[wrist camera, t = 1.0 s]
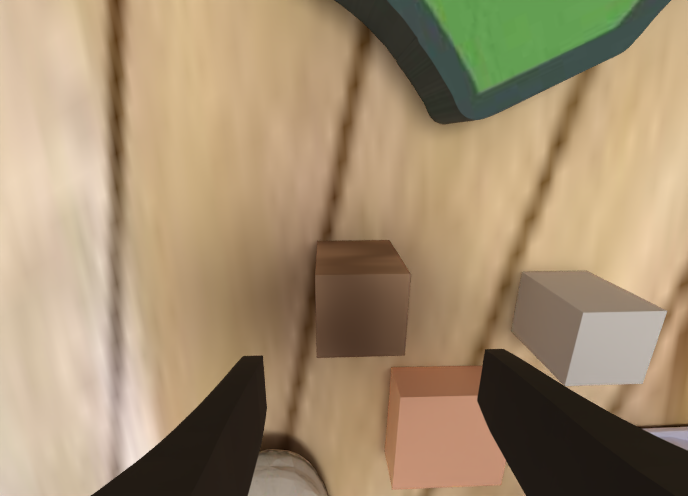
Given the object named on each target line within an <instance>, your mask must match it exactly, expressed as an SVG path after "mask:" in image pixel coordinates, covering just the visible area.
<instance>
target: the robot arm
mask: <svg viewBox="0 0 688 496" xmlns="http://www.w3.org/2000/svg"><path fill="white" fill-rule="evenodd" d="M477 402H478V404H479V407H480V409H481V412H482V414H483V417H484V419H485V421H486V424H487V426H488V428H489V431H490V433H491V434H492V436H493V438H494V440H495V442H496V443H497V445H498V447H499V449H500V451H501V452H502V454H503V456H504V458H505V459H506V461H507V463H508V465H509V466H510V468H511V470H512V472H513V473H514V475H515V477H516V479H517V480H518V482H519V484H520V486H521V487H522V489H523V491H524V493H525V494H526V496H688V427H668V428H644V429H641V428H639V427H637V426H635V425H633V424H631V423H629V422H627V421H625V420H623V419H621V418H619V417H617V416H616V415H614V414H612V413H610V412H608V411H606V410H605V409H603V408H601V407H599V406H598V405H596V404H594V403H592V402H590V401H589V400H587V399H585V398H584V397H582V396H580V395H578V394H577V393H575V392H573V391H572V390H570V389H568V388H567V387H565V386H563V385H562V384H560V383H559V382H557V381H555V380H554V379H552V378H551V377H549V376H547V375H546V374H544V373H543V372H541V371H539V370H538V369H536V368H535V367H533V366H531V365H530V364H528V363H527V362H525V361H523V360H522V359H520V358H518V357H517V356H515V355H513V354H512V353H510V352H508V351H506V350H504V349H485V354H484V360H483V366H482V372H481V379H480V385H479V391H478V397H477ZM266 411H267V404H266V391H265V378H264V365H263V356H243V357H242V358H241V359H240V360H239V361H238V362H237V363H236V365H235V366H234V367H233V368H232V369H231V370H230V372H229V373H228V374H227V375H226V376H225V377H224V378H223V380H222V381H221V382H220V383H219V384H218V385H217V386H216V387H215V388H214V390H213V391H212V392H211V393H210V394H209V395H208V396H207V397H206V398H205V399H204V400H203V401H202V402H201V404H200V405H199V406H198V407H197V408H196V409H195V410H194V411H193V412H192V413H191V414H190V415H189V416H188V417H186V418H185V419H184V420H183V421H182V422H181V423H180V424H179V425H178V426H177V427H176V428H175V429H174V430H173V431H172V432H171V433H170V434H169V435H168V436H166V437H165V438H164V439H163V440H162V441H161V442H160V443H159V444H157V445H156V446H155V447H154V448H153V449H152V450H150V451H149V452H148V453H147V454H146V455H144V456H143V457H142V458H141V459H139V460H138V461H137V462H136V463H134V464H133V465H132V466H130V467H129V468H128V469H126V470H125V471H124V472H122V473H121V474H120V475H118V476H117V477H116V478H114V479H113V480H112V481H110V482H109V483H108V484H106V485H105V486H104V487H102V488H101V489H100V490H98V491H97V492H95V493H94V494H93V495H91V496H248V493H249V489H250V486H251V482H252V478H253V474H254V470H255V467H256V463H257V459H258V455H259V451H260V447H261V443H262V438H263V431H264V425H265V418H266Z"/></svg>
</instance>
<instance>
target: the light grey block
mask: <svg viewBox="0 0 688 496" xmlns="http://www.w3.org/2000/svg"><path fill="white" fill-rule="evenodd" d="M666 313H667V311H666V310H664V309H662V308H660V307H658V306H656V305H654V304H652V303H650V302H648V301H646V300H644V299H642V298H640V297H638V296H636V295H634V294H632V293H630V292H628V291H626V290H624V289H622V288H620V287H618V286H616V285H614V284H612V283H610V282H608V281H606V280H604V279H602V278H600V277H598V276H596V275H594V274H592V273H590V272H588V271H531V272H522V274H521V280H520V285H519V291H518V296H517V301H516V307H515V312H514V318H513V323H512V329H511V331H512V332H513V333H514V335H515V336H516V337H517V338H518V339H519V340H520V341H521V342H522V343H523V344H524V345H525V346H526V347H527V348H528V349H529V350H530V351H531V352H532V353H533V354H534V355H535V356H536V357H537V358H538V359H539V360H540V361H541V362H542V363H543V364H544V365H545V366H546V367H547V368H548V369H549V370H550V371H551V373H552V374H553V375H554V376H555V377H556V378H557V379H558V380H559V381H560V382H561V383H562V384H563V385H564V386H582V385H612V384H643V381H644V378H645V375H646V372H647V369H648V366H649V363H650V360H651V357H652V354H653V352H654V349H655V346H656V343H657V340H658V337H659V334H660V331H661V328H662V325H663V322H664V319H665V316H666Z"/></svg>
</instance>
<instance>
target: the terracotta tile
mask: <svg viewBox="0 0 688 496" xmlns="http://www.w3.org/2000/svg"><path fill="white" fill-rule="evenodd" d="M481 372H482V366H444V367H391V378H390V391H389V404H388V417H387V429H386V442H385V455H386V460H387V465H388V470H389V475H390V481H391V486H392V490H393V489H417V488H441V487H465V486H488V485H501V482H502V478H503V473H504V469H505V464H506V459H505V458H504V456H503V454H502V452H501V451H500V449H499V447H498V445H497V443H496V442H495V440H494V438H493V436H492V434H491V433H490V431H489V428H488V426H487V424H486V421H485V419H484V417H483V414H482V412H481V409H480V407H479V404H478V402H477V397H478V391H479V385H480V379H481Z"/></svg>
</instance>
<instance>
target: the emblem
mask: <svg viewBox="0 0 688 496" xmlns="http://www.w3.org/2000/svg"><path fill="white" fill-rule="evenodd" d="M335 1H336V2H338V3H339V4H341V5H342V6H343V7H345V8H346V9H347V10H348V11H350V12H351V13H352V14H353V15H355V16H356V17H357V18H358V19H359V20H360V21H362V22H363V23H364V24H365V25H366V26H367V27H368V28H369V29H370V30H371V31H372V32H373V33H374V34H375V36H376V37H377V38H378V39H379V40H380V41H381V42H382V43H383V44H384V45H385V46H386V47H387V49H388V50H389V51H390V53H391V54H392V55H393V57H394V58H395V59H396V61H397V64H398V65H399V67H400V68H401V69H402V70H403V72H404V73H405V74H406V76H407V77H408V79H409V80H410V82H411V83H412V85H413V86H414V88H415V90H416V91H417V93H418V94H419V96H420V98H421V99H422V101H423V102H424V104H425V106H426V109H427V111H428V113H429V115H430V117H431V118H432V119H433V120H434V121H436V122H438V123H440V124H449V123H457V122H465V121H473V120H480V119H484V118H487V117H490V116H492V115H495V114H497V113H499V112H501V111H503V110H505V109H507V108H509V107H511V106H513V105H516V104H518V103H520V102H522V101H524V100H526V99H528V98H530V97H532V96H534V95H536V94H538V93H540V92H542V91H544V90H546V89H548V88H550V87H552V86H554V85H557V84H559V83H561V82H563V81H565V80H567V79H569V78H571V77H573V76H575V75H577V74H579V73H581V72H583V71H585V70H587V69H589V68H591V67H594V66H596V65H598V64H600V63H602V62H604V61H606V60H608V59H610V58H613V57H615V56H617V55H619V54H621V53H622V52H624V51H625V50H626V49H627V48H629V47H630V46H631V45H632V44H633V42H634V41H635V40H636V39H637V38H638V37H639V36H640V35H641V34H642V32H643V31H644V30H645V29H646V28H647V26H648V25H649V24H650V23H651V22H652V21H653V19H654V18H655V17H656V16H657V15H658V14H659V13H660V11H661V10H662V9H663V8H664V7H665V6H666V5H667V4H668V3H669V2H670V1H671V0H335Z"/></svg>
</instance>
